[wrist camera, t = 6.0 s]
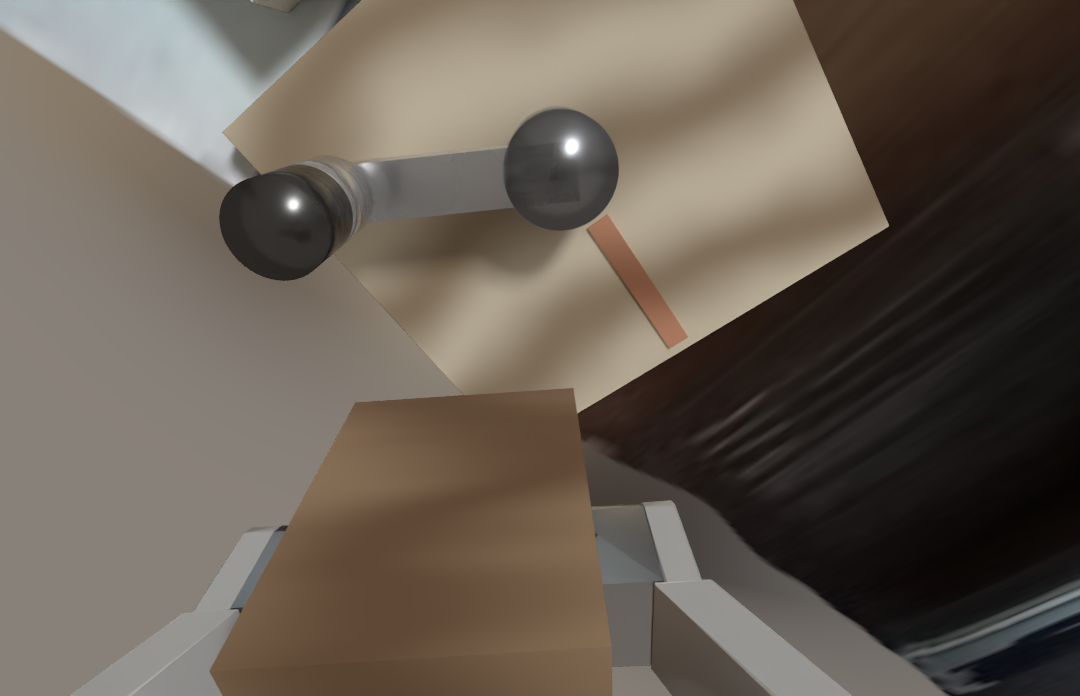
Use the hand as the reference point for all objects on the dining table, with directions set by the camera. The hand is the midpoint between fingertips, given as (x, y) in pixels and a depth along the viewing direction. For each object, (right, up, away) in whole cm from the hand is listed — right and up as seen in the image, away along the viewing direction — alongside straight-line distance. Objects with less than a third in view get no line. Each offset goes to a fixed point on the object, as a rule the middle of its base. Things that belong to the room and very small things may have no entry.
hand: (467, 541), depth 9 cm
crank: (-2, +10, +12) cm, 16 cm away
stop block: (0, +1, +1) cm, 2 cm away
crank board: (+3, +11, +14) cm, 18 cm away
